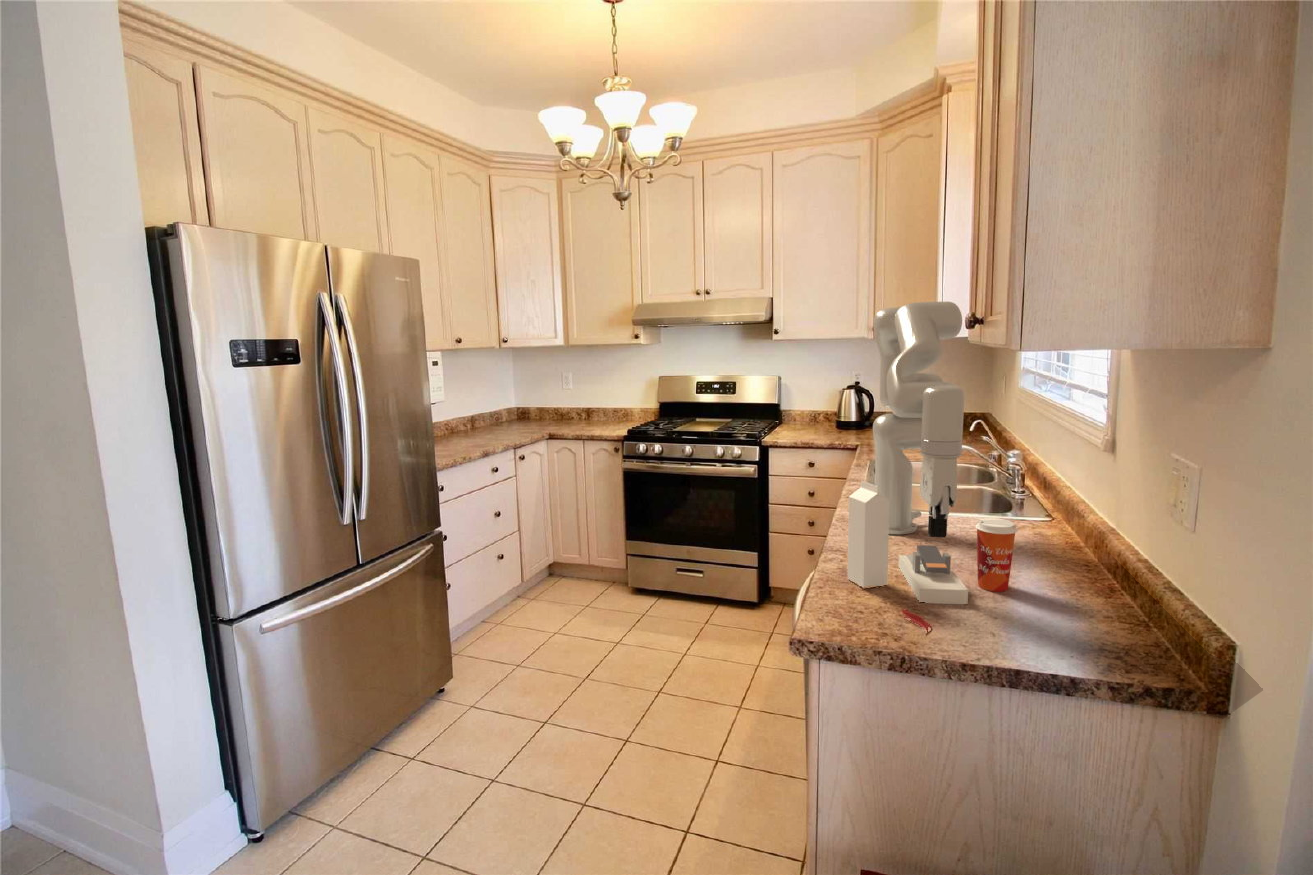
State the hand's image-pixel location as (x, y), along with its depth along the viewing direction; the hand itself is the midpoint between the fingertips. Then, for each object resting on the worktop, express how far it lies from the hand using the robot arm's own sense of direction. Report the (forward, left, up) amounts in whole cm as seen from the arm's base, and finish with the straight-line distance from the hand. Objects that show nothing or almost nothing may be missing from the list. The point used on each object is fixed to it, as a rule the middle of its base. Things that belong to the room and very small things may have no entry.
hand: (937, 535), depth 134 cm
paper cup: (-12, +5, -12) cm, 18 cm away
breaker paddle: (-2, -3, -6) cm, 7 cm away
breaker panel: (-2, -3, -12) cm, 12 cm away
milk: (+8, -11, -12) cm, 18 cm away
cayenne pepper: (+15, +7, -13) cm, 21 cm away
